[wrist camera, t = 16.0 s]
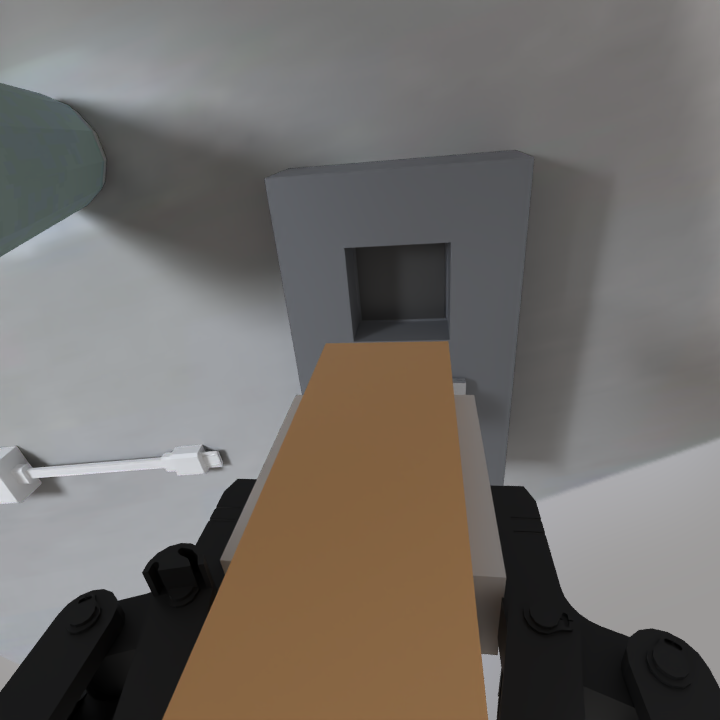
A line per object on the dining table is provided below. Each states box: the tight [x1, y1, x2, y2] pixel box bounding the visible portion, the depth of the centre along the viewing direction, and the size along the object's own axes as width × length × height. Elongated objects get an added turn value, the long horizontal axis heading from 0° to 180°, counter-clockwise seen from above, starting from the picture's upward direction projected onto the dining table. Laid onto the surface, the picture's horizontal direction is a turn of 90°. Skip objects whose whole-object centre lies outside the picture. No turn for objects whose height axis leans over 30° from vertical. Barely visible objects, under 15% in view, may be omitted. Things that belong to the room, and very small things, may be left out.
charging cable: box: [0, 445, 223, 504], centre depth 43 cm, size 5×32×3 cm, turn 100°
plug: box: [162, 341, 488, 720], centre depth 11 cm, size 4×4×14 cm
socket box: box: [264, 150, 534, 486], centre depth 30 cm, size 22×14×5 cm, turn 5°
